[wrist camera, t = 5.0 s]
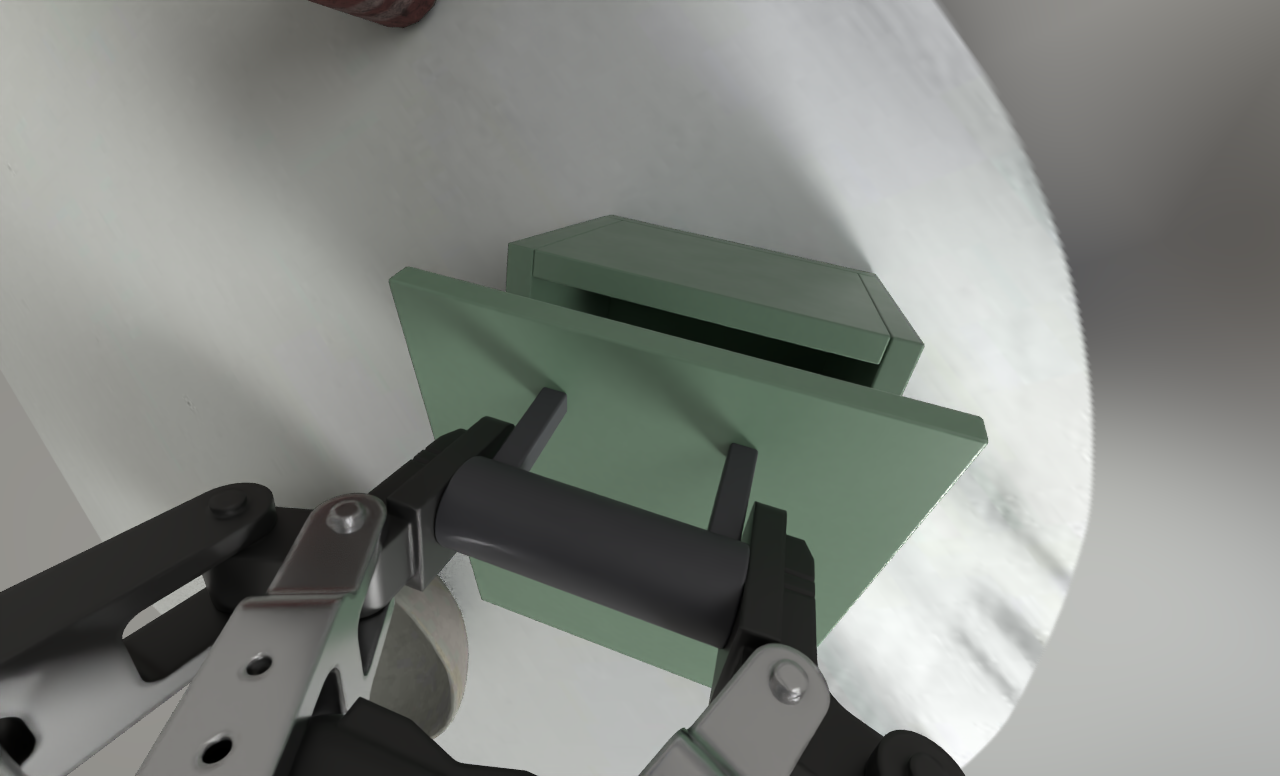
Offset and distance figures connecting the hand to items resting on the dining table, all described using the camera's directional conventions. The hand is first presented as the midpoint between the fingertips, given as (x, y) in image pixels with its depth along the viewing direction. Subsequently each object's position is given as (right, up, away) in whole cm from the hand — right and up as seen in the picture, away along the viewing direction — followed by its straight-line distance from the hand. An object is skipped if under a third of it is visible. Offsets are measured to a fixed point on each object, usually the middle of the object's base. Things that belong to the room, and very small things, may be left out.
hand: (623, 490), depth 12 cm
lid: (0, -3, +6) cm, 6 cm away
